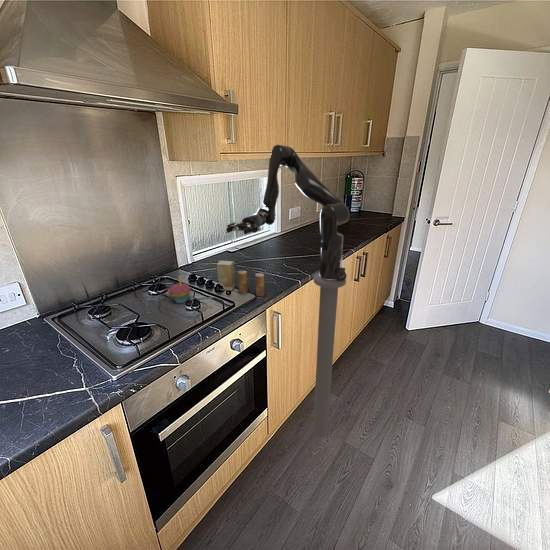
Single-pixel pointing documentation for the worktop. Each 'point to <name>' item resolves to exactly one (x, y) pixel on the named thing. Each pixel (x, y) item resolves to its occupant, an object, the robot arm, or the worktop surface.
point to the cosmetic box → (226, 275)
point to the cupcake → (179, 292)
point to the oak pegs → (258, 278)
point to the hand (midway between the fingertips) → (235, 231)
